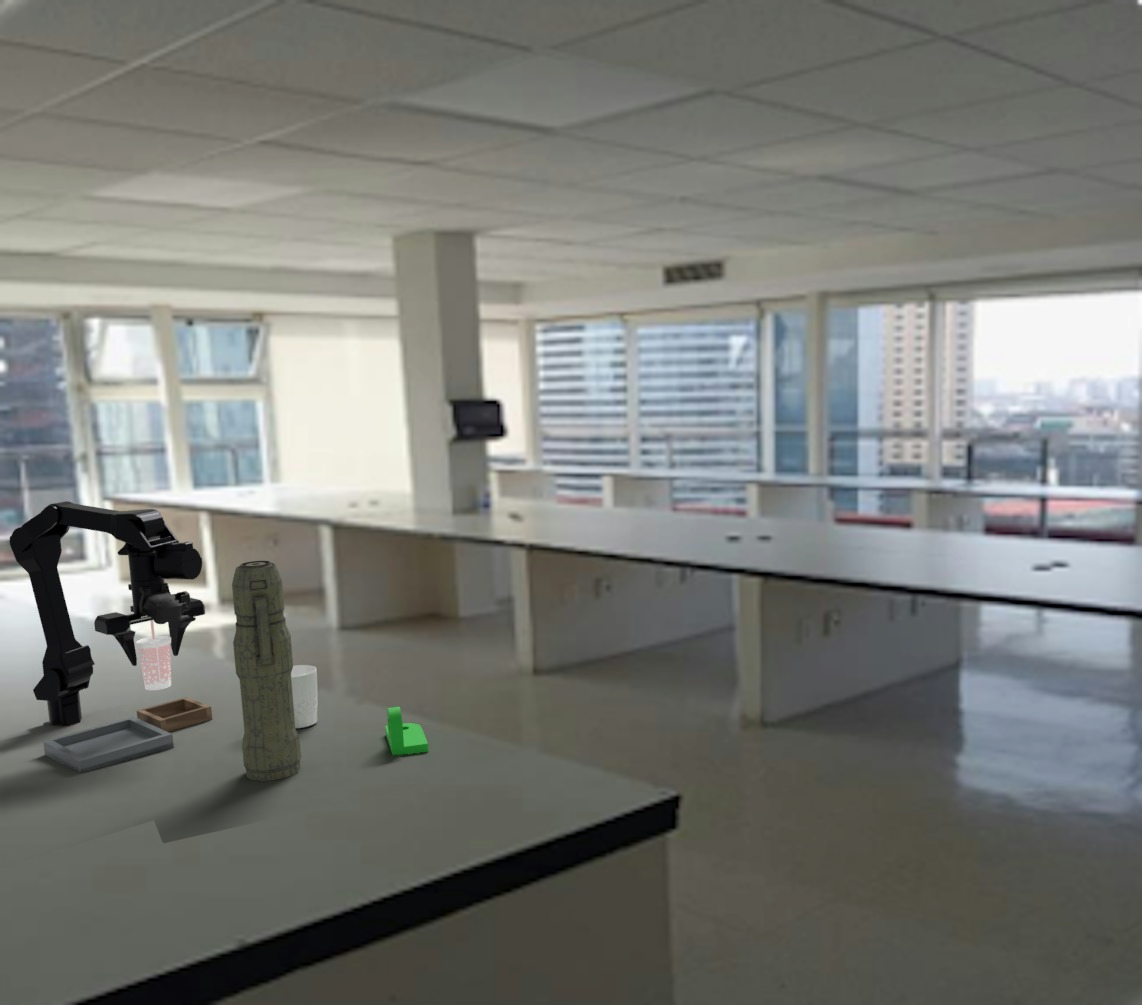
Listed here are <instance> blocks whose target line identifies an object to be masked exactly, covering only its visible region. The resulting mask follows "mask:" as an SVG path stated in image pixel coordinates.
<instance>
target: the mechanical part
mask: <svg viewBox="0 0 1142 1005" xmlns="http://www.w3.org/2000/svg"><path fill="white" fill-rule="evenodd" d="M386 709H387V710H386V714H387V715H386V718H387V725H385V736H386V739H387V742H388V746H390V747H389V749H390V752H391V755H392V756H395V755H397V756H399V755H401V756H403V755H402V754H408V755H414V754H413V753H416V754H421V753H420V752H423V753H429V743H428V741H427V738H426V734H425V732H424V730H423V728H422V726H421V725H420V724H418V723H413V722H409V723H408V722H406V723H405V722H404V723H403V717H402V716H403V715H402V712H401V711H402V710H401V707H400V706H394V707H387V708H386Z"/></svg>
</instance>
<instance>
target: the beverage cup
mask: <svg viewBox="0 0 1142 1005" xmlns="http://www.w3.org/2000/svg"><path fill="white" fill-rule="evenodd" d="M150 629H151V631H150V632H151V636H149V637H148V636H147V637H144V638H141V639H138V640H137V641H136V642H135V645H136V648H138V655H139V659H140V666H141V667H140V668H141V671H142V672H141V673H142V678H143V684H144V688H145V690H146V691H159V690H165V689H167V688H170V687H171V686H172V672H171V671H172V668H171V667H172V666H171V665H172V664H171V637H170V635H155V626H154V620H150Z"/></svg>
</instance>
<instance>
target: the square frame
mask: <svg viewBox="0 0 1142 1005" xmlns="http://www.w3.org/2000/svg"><path fill="white" fill-rule="evenodd" d="M136 718H138V719H140V720H142V721H144V722H147V723H149V724H151V725H153V726H156V727H158V728H160V729H162V730H164V731H167V732H169V733H171V732H173V731H176V730H180V729H184V728H187V727H190V726H194V725H196V724H200V723H204V722H207V721H212V720H213V711H212V706H210V705H208V704H206V703H203V702H201V701H198V700H196V699H192V698H190V697H187V696H186V697H182V698H178V699H175V700H170V701H167V702H163V703H160V704H159V703H158V704H155V705H152V706H149V707H148V706H147V707H145V708H142V709H137V710H136Z"/></svg>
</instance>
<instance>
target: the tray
mask: <svg viewBox="0 0 1142 1005" xmlns="http://www.w3.org/2000/svg"><path fill="white" fill-rule="evenodd" d="M42 742H43V743H42V744H43V751H44V756H46V757H48V758H50V759H51V760H53V761H55V762H57V763H60V764H62V765H63V766H65V767H67V768H70V769H71V770H73V771H76V772H77V773H79V774H84V773H86V772H90V771H93V770H99V769H101V768H105V767H108V765H109V766H112V765H116V764H119V762H120V763H123V761H124V762H127V761H130V759H131V760H134V759H133V758H135V759H137V757H138V758H141V757H140V756H142V757H145V755H146V756H149V755H153V754H155V753H160V752H163V751H166V750H171V749H174V746H175V744H174V735H173V734H172V733H171V732H167V731H164V730H162V729H160V728H158V727H156V726H153V725H151V724H149V723H147V722H144V721H142V720H140V719H138V718H137V717H135V716H129V717H126V718H123V719H119V720H115V721H111V722H108V723H104V724H101V725H97V726H93V727H90V728H85V729H82V730H78V731H75V732H72V733H68V734H63V735H61V736H57V737H53V738H50V739H46V740H42ZM126 760H127V761H126Z"/></svg>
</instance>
